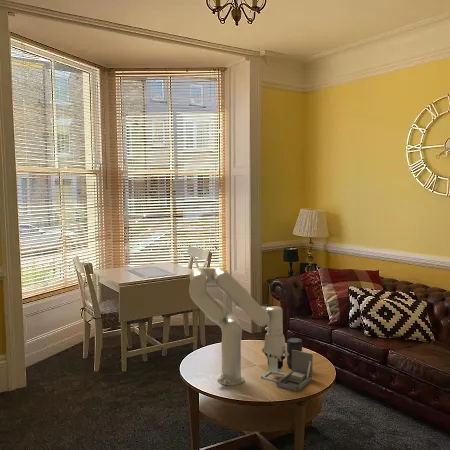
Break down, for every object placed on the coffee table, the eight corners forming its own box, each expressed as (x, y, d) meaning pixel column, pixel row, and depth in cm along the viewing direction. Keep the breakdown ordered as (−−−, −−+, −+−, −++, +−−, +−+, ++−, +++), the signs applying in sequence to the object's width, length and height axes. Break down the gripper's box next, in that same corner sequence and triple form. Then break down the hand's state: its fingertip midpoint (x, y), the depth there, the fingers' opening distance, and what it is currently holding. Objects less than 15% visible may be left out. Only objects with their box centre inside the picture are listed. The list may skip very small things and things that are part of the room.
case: (297, 393, 226) (298, 365, 225) (276, 387, 232) (276, 360, 231) (312, 380, 240) (312, 353, 239) (292, 375, 246) (292, 349, 245)
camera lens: (302, 365, 259) (303, 338, 258) (301, 371, 251) (301, 343, 250) (287, 363, 261) (287, 336, 260) (285, 369, 253) (285, 341, 252)
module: (277, 373, 239) (277, 357, 239) (268, 371, 242) (268, 355, 241) (282, 369, 244) (282, 354, 243) (273, 367, 246) (273, 352, 245)
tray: (279, 383, 236) (279, 381, 236) (261, 379, 242) (261, 376, 242) (288, 376, 244) (288, 374, 244) (270, 372, 250) (270, 370, 250)
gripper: (256, 330, 242) (256, 366, 244) (287, 336, 233) (287, 372, 235) (263, 326, 249) (264, 361, 250) (293, 332, 239) (294, 367, 241)
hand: (275, 366), depth 243 cm, fingers closed on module, 5 cm apart
